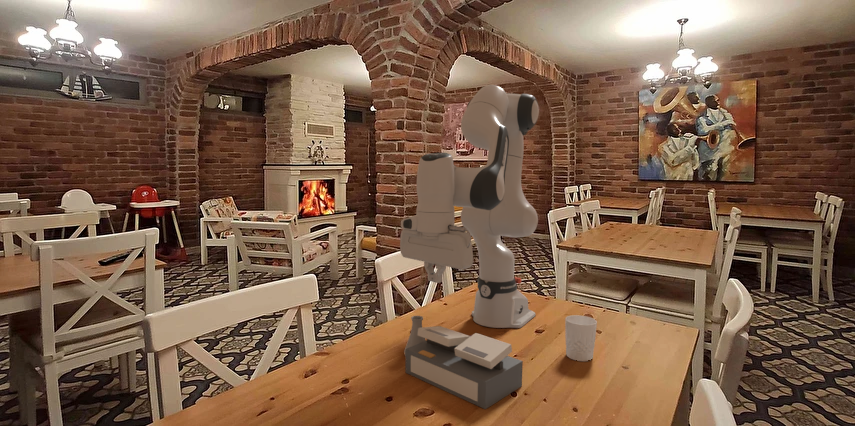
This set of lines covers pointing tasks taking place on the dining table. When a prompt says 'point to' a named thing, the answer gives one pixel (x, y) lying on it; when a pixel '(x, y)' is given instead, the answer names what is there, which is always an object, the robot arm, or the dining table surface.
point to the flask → (415, 333)
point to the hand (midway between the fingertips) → (434, 281)
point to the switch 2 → (483, 350)
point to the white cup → (580, 337)
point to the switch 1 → (442, 335)
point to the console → (463, 373)
